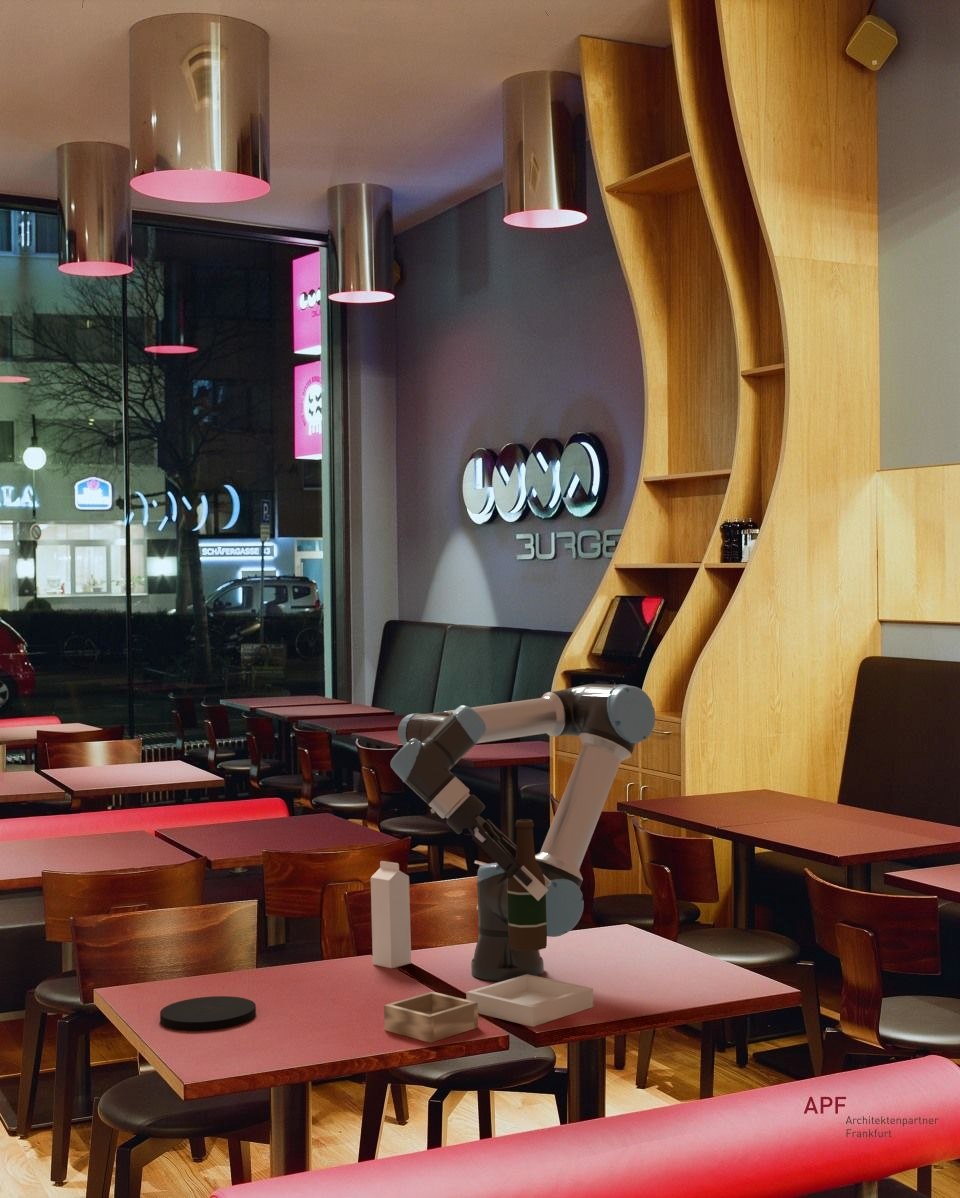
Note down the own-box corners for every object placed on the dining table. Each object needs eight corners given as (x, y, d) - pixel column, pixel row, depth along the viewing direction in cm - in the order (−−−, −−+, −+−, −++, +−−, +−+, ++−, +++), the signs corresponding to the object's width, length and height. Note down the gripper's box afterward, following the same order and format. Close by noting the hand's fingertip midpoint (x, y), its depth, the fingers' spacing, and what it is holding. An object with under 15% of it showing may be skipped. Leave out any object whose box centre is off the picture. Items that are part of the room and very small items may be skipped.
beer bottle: (501, 950, 264) (498, 822, 264) (515, 940, 271) (512, 816, 272) (540, 953, 261) (536, 823, 262) (553, 943, 268) (550, 817, 269)
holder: (384, 1030, 255) (384, 1005, 255) (432, 1015, 263) (432, 991, 263) (430, 1042, 246) (429, 1016, 246) (478, 1027, 255) (477, 1002, 255)
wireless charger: (162, 1037, 255) (162, 1026, 255) (158, 1011, 272) (157, 1001, 272) (261, 1027, 260) (260, 1016, 260) (250, 1002, 277) (250, 992, 277)
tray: (466, 1010, 266) (466, 991, 266) (527, 991, 278) (527, 974, 278) (532, 1026, 254) (532, 1007, 254) (593, 1006, 266) (592, 988, 266)
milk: (392, 959, 308) (390, 858, 309) (411, 963, 304) (409, 861, 305) (372, 964, 304) (369, 862, 304) (391, 968, 300) (388, 865, 300)
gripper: (451, 813, 279) (535, 894, 276) (436, 828, 258) (526, 916, 256) (477, 786, 278) (561, 867, 276) (464, 799, 258) (555, 887, 256)
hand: (544, 891), depth 266 cm, fingers closed on beer bottle, 7 cm apart
